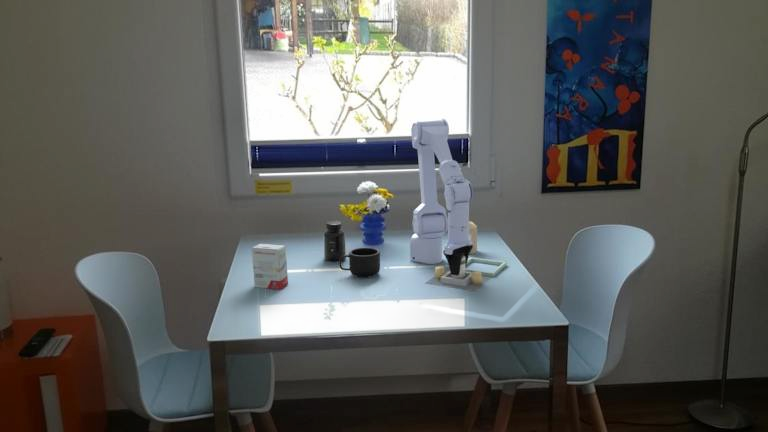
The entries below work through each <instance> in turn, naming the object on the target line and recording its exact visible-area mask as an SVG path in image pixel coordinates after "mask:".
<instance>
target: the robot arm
mask: <svg viewBox="0 0 768 432" xmlns="http://www.w3.org/2000/svg"><path fill="white" fill-rule="evenodd" d="M410 129H411V130H410V131H411V144H412V148H413V149H416V150H417V157H418V171H419V173H418V175H419V186H420V200H421V201H420V202H421V203H420V204H419V205H418V206H417V207H416V208H415V209H414V210H413V211H412V230H413V232H414V233H413V234H412V235H411V239H410V243H409V245H410V246H409V252H410V254H409V257H410V258H409V260H410V262H417V263H422V264H427V265H435V264H440V263H441V262H443V255H444V257H445V258H446V261H447V264H448V267H449V271H450V272H451V275H459V272H460V265H461V260H462V257H463V255H464V256H465V259H466V263H465V269H467V266H468V265H467V260H468V259H469V258H470V257H469V256H470V255H471V254H470V252H471V250H472V248H473V245H472V244H473V242H472V241H471V235H469V221H470V203H471V202H472V200H473V198H474V190H473V186H472V185H473V184H472V183H471V182H470V181H469V180H468V179H467V178H465V177H464V175H463V173H462V170H461V168H460V164H459V162H458V161H456V160H454V159H453V156H452V154H451V150H450V147H449V143H448V139H449V134H450V127H449V122H448V121H447V120H446V118H441V119H427V120H425V119H424V120H419V119H416V120H414V121H413V122H412V125H411V128H410ZM435 156H436V158H437V160H438V162H439V164H440V165H439V166H438V172H439V175H440V177H441V179H442V182H443V186H444V191H443V193H444V200H445V207H446V208H445V207H444V206H442V205H440V203H438V191H437V190H438V189H437V175H436V173H437V172H436V162H435V161H436V159H435ZM446 232H447V241H446V245H445V246H444V250H443V236H445V233H446ZM466 265H467V266H466Z"/></svg>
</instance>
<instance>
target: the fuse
mask: <svg viewBox="0 0 768 432" xmlns="http://www.w3.org/2000/svg"><path fill="white" fill-rule="evenodd" d="M465 263H466V259H465V256H464V255H463V257H462V260H461V265H460V272H459V275H451V278H456V279H463V280H464V279H465V269H466V268H465Z"/></svg>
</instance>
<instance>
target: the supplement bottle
mask: <svg viewBox="0 0 768 432" xmlns="http://www.w3.org/2000/svg"><path fill="white" fill-rule="evenodd" d="M325 229H326V230H325V231H324V232H323V235H322V237H323V258H324V261H326V262H329V263H340V259H341V257H342V256H344V255H347V251H346V245H347V244H346V232H345V231H344V230H343V226H342V222H341V221H339V220H330V221H326V223H325ZM346 258H347V257H345V258H343V260H342V262H344V261H345V260H346Z"/></svg>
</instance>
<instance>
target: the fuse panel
mask: <svg viewBox="0 0 768 432" xmlns="http://www.w3.org/2000/svg"><path fill="white" fill-rule="evenodd" d="M434 273H435V274H434V276H432V277H431V278H430V279H428V280H427V281H426V282H425V284H427V285H434V286H440V287H444V288H445V287H446V288H447V287H448V288H453V289H460V290H466V291H471V292H476V291H478V289H480V288H481V287H482V286H483V285H485V284H486V283H487V282H488V281H489V280H490V279H491V277H489V276H483V275H482V273H481V272H478V271H474V272H472V273H471V272H465V279H464V280H463V279H456V278H451V272H450V270H449V271H447V270H446V267H445V266H443V265H439V266H435V267H434Z"/></svg>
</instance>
